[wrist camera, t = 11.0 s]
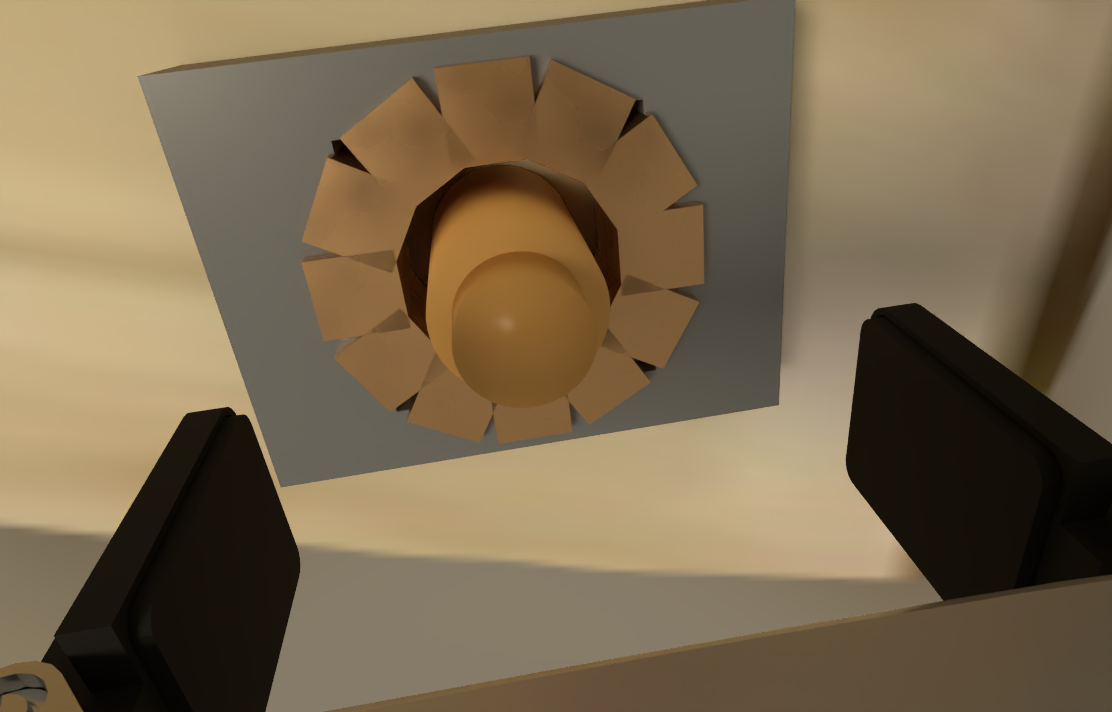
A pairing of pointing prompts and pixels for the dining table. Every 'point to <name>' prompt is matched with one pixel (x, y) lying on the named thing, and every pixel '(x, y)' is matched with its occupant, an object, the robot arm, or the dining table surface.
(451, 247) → the tan domed cylinder
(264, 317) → the plate
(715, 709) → the robot arm
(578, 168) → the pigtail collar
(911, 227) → the dining table surface
